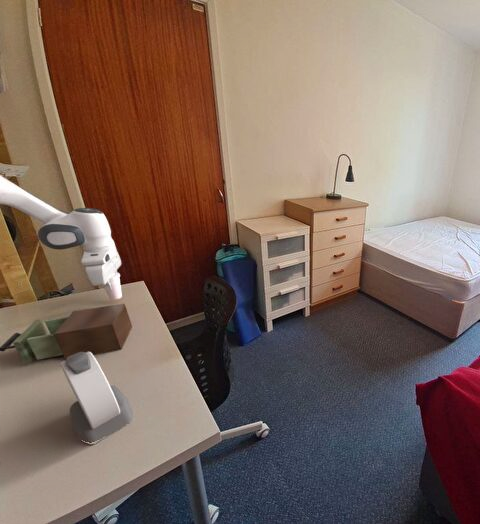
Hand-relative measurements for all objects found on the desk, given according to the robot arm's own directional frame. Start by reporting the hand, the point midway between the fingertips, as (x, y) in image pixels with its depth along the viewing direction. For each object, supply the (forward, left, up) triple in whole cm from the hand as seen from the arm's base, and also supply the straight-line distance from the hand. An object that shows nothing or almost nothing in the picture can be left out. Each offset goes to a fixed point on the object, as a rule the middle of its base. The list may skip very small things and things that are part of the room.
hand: (112, 285), depth 109 cm
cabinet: (+2, -26, -8) cm, 27 cm away
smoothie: (0, 0, -6) cm, 6 cm away
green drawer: (-10, -26, -7) cm, 29 cm away
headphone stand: (+12, -59, -8) cm, 61 cm away
